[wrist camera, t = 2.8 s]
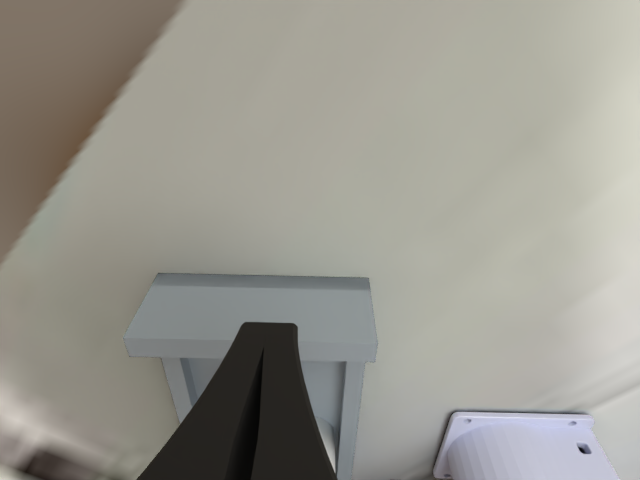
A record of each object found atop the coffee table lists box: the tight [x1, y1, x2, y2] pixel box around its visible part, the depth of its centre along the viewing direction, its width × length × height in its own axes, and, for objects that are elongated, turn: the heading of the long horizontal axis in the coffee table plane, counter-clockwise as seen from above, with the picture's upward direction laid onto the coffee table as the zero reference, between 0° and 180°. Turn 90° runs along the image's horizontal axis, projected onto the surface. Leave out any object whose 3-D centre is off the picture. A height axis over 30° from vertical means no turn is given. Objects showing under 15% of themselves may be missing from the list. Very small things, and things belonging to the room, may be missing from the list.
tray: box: [123, 273, 378, 480], centre depth 24 cm, size 11×18×6 cm, turn 179°
